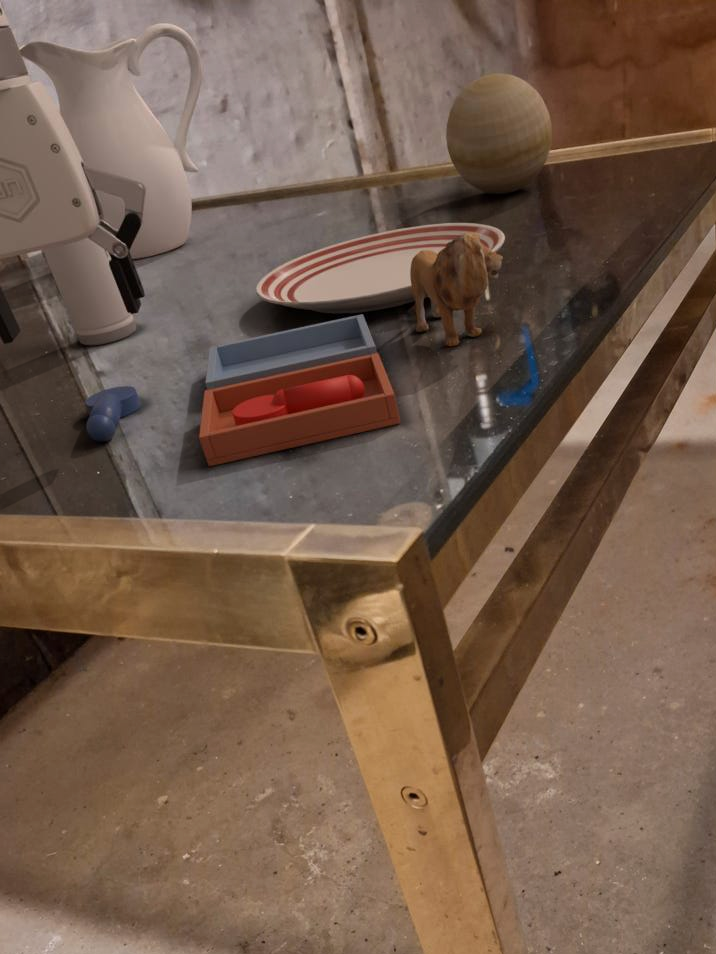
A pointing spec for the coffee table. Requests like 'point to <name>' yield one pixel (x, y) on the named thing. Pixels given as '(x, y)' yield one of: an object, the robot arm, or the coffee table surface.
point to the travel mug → (90, 292)
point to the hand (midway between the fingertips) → (74, 323)
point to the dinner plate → (364, 269)
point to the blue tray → (288, 351)
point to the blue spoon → (110, 410)
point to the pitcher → (126, 130)
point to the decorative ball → (499, 133)
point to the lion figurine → (453, 282)
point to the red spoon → (299, 399)
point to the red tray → (298, 428)
